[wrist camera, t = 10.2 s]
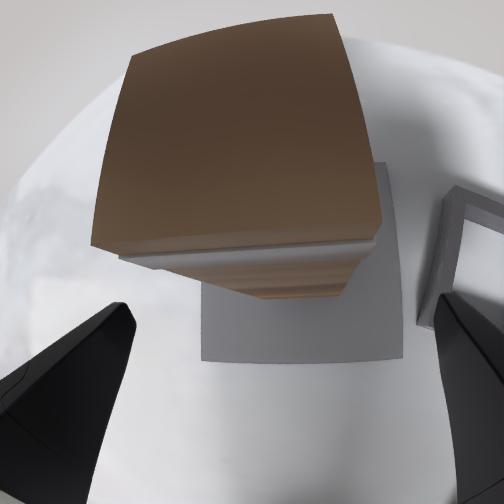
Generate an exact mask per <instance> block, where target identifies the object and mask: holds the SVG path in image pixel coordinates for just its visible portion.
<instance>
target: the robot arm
mask: <svg viewBox="0 0 504 504" xmlns="http://www.w3.org/2000/svg"><path fill="white" fill-rule="evenodd" d="M433 324H434V331H435V337H436V344H437V351H438V359H439V367H440V373H441V379H442V383H443V388H444V393H445V398H446V403H447V409H448V414H449V420H450V427H451V433H452V441H453V448H454V457H455V467H456V479H457V495H458V504H504V333H503V332H502V331H500V330H499V329H498V328H497V327H496V326H495V325H494V324H492V323H491V322H490V321H489V320H488V319H487V318H485V317H484V316H483V315H482V314H481V313H479V312H478V311H477V310H476V309H475V308H474V307H472V306H471V305H470V304H469V303H467V302H466V301H465V300H464V299H463V298H461V297H460V296H459V295H458V294H456V293H455V292H445V293H441V294H440V295H439V297H438V301H437V305H436V309H435V313H434V317H433ZM135 332H136V321H135V319H134V317H133V315H132V313H131V311H130V309H129V307H128V305H127V304H126V303H124V302H113V303H111V304H110V305H108V306H107V307H106V308H104V309H103V310H101V311H100V312H98V313H97V314H95V315H94V316H92V317H91V318H89V319H88V320H86V321H85V322H83V323H82V324H80V325H79V326H78V327H76V328H75V329H73V330H72V331H70V332H69V333H67V334H66V335H64V336H63V337H62V338H60V339H59V340H57V341H56V342H54V343H53V344H52V345H50V346H49V347H47V348H46V349H44V350H43V351H42V352H40V353H39V354H37V355H36V356H35V357H33V358H32V359H31V360H29V361H28V362H26V363H25V364H23V365H22V366H21V367H19V368H18V369H16V370H15V371H13V372H12V373H10V374H9V375H7V376H6V377H4V378H3V379H1V380H0V504H86V503H87V499H88V494H89V490H90V486H91V482H92V479H93V478H92V477H93V474H94V470H95V467H96V463H97V459H98V456H99V452H100V449H101V445H102V442H103V439H104V435H105V432H106V429H107V425H108V422H109V419H110V416H111V413H112V409H113V406H114V403H115V400H116V397H117V394H118V391H119V388H120V385H121V382H122V380H123V377H124V374H125V370H126V367H127V363H128V359H129V355H130V351H131V347H132V343H133V339H134V336H135Z"/></svg>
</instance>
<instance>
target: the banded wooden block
mask: <svg viewBox="0 0 504 504" xmlns="http://www.w3.org/2000/svg"><path fill="white" fill-rule="evenodd" d="M382 222H383V221H382V213H381V206H380V199H379V193H378V186H377V180H376V174H375V169H374V163H373V158H372V153H371V148H370V143H369V138H368V134H367V129H366V125H365V120H364V116H363V112H362V108H361V104H360V100H359V96H358V92H357V89H356V85H355V81H354V78H353V74H352V71H351V68H350V64H349V61H348V58H347V54H346V51H345V48H344V45H343V42H342V39H341V36H340V34H339V30H338V28H337V25H336V22H335V19H334V16H333V14H317V15H304V16H295V17H286V18H277V19H270V20H264V21H258V22H252V23H246V24H241V25H236V26H231V27H226V28H222V29H218V30H213V31H209V32H205V33H202V34H198V35H194V36H190V37H187V38H183V39H180V40H177V41H173V42H170V43H167V44H164V45H161V46H158V47H155V48H152V49H149V50H146V51H144V52H141V53H138V54H136V55H133V56H132V57H131V60H130V63H129V66H128V69H127V72H126V75H125V78H124V81H123V85H122V88H121V91H120V95H119V98H118V102H117V105H116V109H115V112H114V116H113V120H112V124H111V128H110V132H109V136H108V141H107V145H106V150H105V154H104V159H103V164H102V169H101V175H100V180H99V186H98V192H97V198H96V205H95V212H94V219H93V227H92V236H91V246H94V247H97V248H100V249H103V250H106V251H109V252H111V253H114V254H117V255H119V257H118V259H121V260H124V261H127V262H131V263H134V264H137V265H140V266H143V267H147V268H150V269H153V270H156V269H163V270H167V271H170V272H173V273H176V274H179V275H183V276H186V277H189V278H192V279H196V280H199V281H202V282H206V283H209V284H212V285H216V286H219V287H222V288H226V289H229V290H233V291H236V292H239V293H243V294H246V295H250V296H253V297H257V298H261V299H290V298H313V297H332V296H339V295H340V294H341V292H342V291H343V289H344V287H345V286H346V284H347V283H348V281H349V279H350V278H351V276H352V274H353V273H354V271H355V269H356V268H357V266H358V264H359V263H360V261H361V259H365V258H367V257H368V255H369V254H370V252H371V251H372V249H373V248H374V246H375V245H376V243H377V238H376V233H377V231H378V230H379V228H380V226H381V224H382Z"/></svg>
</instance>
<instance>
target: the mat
mask: <svg viewBox="0 0 504 504" xmlns="http://www.w3.org/2000/svg"><path fill="white" fill-rule="evenodd" d="M374 169H375V174H376V180H377V186H378V193H379V199H380V206H381V213H382V221H383V222H382V224H381V226H380V228H379V230H378V231H377V233H376V238H377V243H376V245H375V246H374V248H373V249H372V251H371V252H370V254H369V255H368V257H367V258H365V259H361V261H360V263H359V264H358V266H357V268H356V269H355V271H354V273H353V274H352V276H351V278H350V279H349V281H348V283H347V284H346V286H345V287H344V289H343V291H342V292H341V294H340V295H339V296H332V297H313V298H290V299H261V298H257V297H253V296H250V295H246V294H243V293H239V292H236V291H233V290H229V289H226V288H222V287H219V286H216V285H212V284H209V283H206V282H202V281H201V361H210V362H228V363H254V364H319V363H345V362H363V361H377V360H389V359H399V358H403V316H402V291H401V275H400V262H399V251H398V241H397V233H396V224H395V217H394V209H393V203H392V196H391V190H390V184H389V178H388V173H387V167H386V162H383V163H374Z"/></svg>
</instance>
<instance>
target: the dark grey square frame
mask: <svg viewBox="0 0 504 504" xmlns="http://www.w3.org/2000/svg"><path fill="white" fill-rule="evenodd" d="M464 219H467V220H469V221H472V222H475V223H477V224H480V225H482V226H485V227H487V228H490V229H492V230H495V231H497V232H499V233H502V234H504V205H502V204H500V203H498V202H495V201H493V200H491V199H488V198H486V197H483V196H481V195H479V194H476V193H474V192H471V191H469V190H466V189H463V188H461V187H458V186H456V185H455V186H454V187H453V188H452V189H451V190H450V192H449V193H448V194H447V195H446V196H445V197H444V199H443V207H442V214H441V220H440V226H439V232H438V238H437V243H436V248H435V253H434V258H433V263H432V267H431V272H430V276H429V280H428V284H427V288H426V292H425V296H424V300H423V304H422V307H421V311H420V314H419V318H418V321H417V324H416V325H418V326H421V327H424V328H428V329H431V330H434V324H433V317H434V313H435V309H436V305H437V301H438V297H439V295H440V294H441V293H445V292H451V290H452V285H453V281H454V276H455V271H456V266H457V261H458V256H459V250H460V244H461V237H462V231H463V223H464ZM503 333H504V332H503Z"/></svg>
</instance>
